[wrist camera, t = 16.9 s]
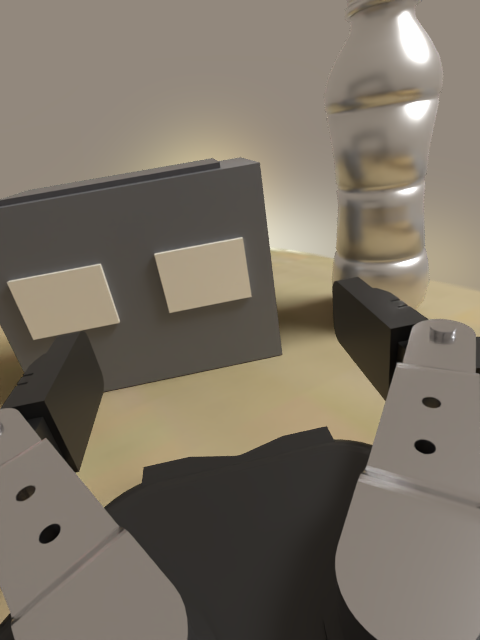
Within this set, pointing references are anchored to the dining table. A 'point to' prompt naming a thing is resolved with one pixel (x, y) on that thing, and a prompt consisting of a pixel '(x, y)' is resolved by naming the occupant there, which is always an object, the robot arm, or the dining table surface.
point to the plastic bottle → (383, 145)
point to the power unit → (143, 270)
